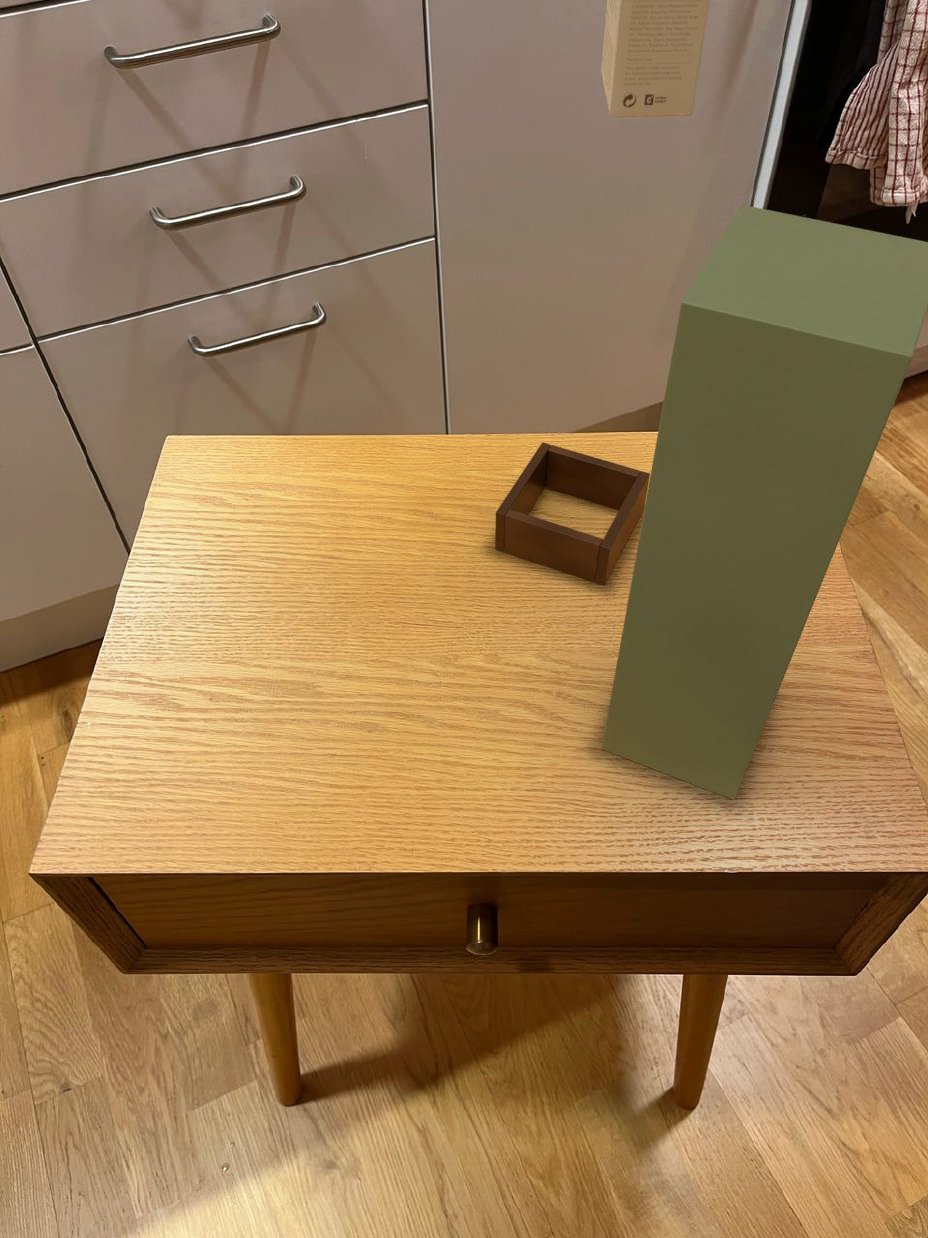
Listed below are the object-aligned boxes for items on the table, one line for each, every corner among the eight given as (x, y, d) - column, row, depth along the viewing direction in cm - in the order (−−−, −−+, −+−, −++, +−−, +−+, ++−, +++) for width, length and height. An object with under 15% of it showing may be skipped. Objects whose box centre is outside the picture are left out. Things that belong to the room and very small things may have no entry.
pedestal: (769, 696, 66) (947, 244, 41) (734, 800, 61) (913, 356, 36) (645, 653, 69) (740, 203, 44) (601, 749, 64) (680, 301, 39)
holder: (643, 510, 78) (650, 473, 75) (604, 585, 73) (610, 549, 70) (539, 478, 81) (542, 441, 78) (494, 549, 76) (495, 512, 73)
